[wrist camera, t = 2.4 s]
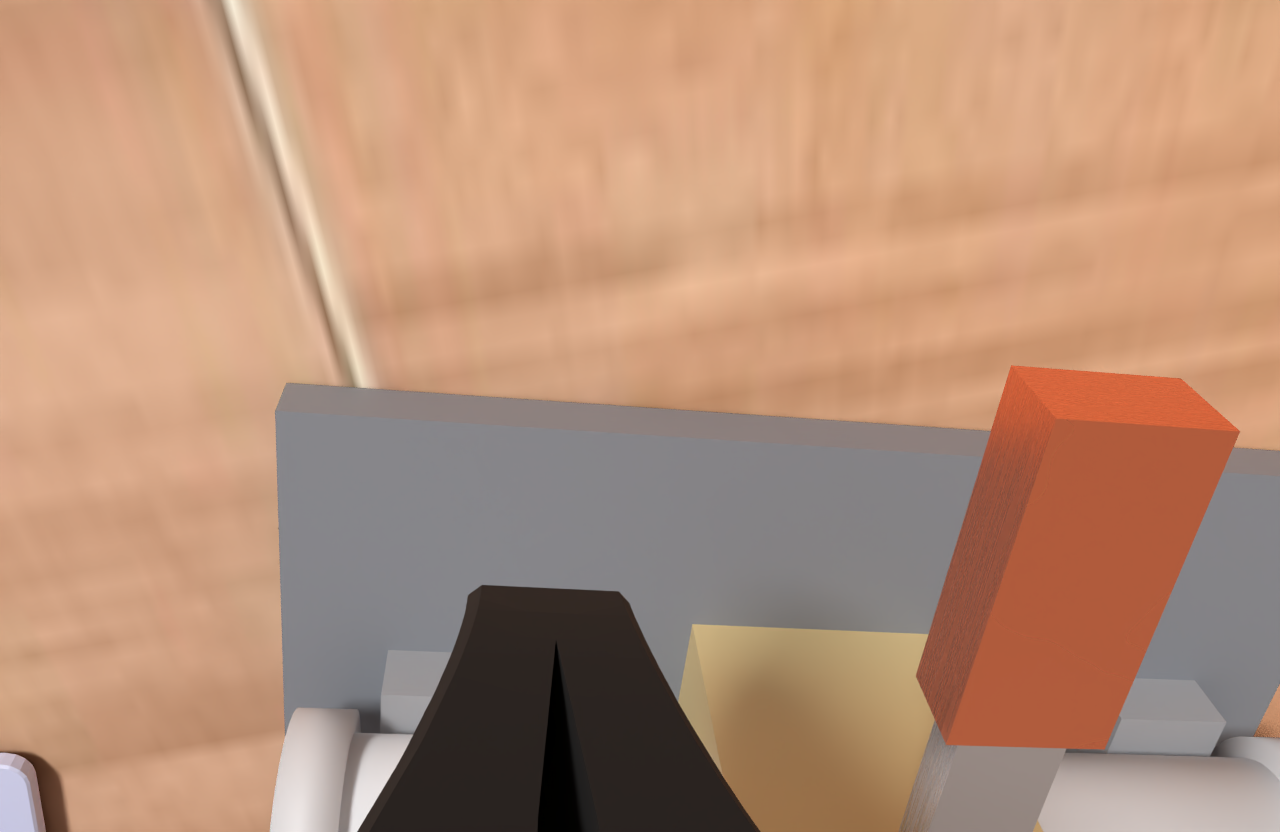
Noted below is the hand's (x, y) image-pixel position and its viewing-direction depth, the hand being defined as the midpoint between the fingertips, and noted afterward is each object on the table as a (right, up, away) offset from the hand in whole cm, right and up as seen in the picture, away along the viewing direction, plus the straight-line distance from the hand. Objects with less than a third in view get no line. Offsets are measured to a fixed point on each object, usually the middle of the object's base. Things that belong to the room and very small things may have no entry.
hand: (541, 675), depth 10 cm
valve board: (+4, -3, +14) cm, 14 cm away
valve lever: (+5, -2, +5) cm, 8 cm away
